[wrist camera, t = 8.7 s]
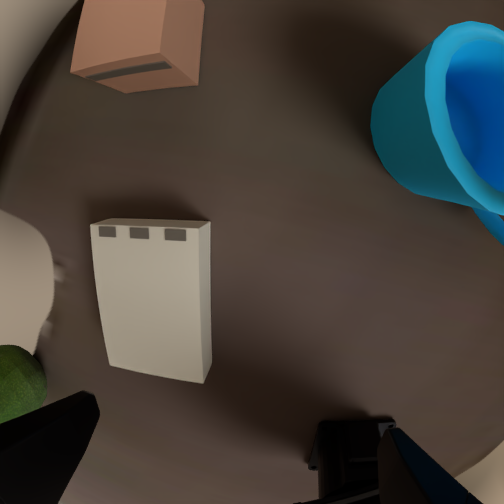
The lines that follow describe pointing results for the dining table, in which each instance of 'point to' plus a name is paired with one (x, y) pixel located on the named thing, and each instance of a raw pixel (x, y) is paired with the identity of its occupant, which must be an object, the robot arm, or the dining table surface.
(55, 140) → the dining table surface
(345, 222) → the dining table surface
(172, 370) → the slab
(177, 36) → the tan cube
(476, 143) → the mug
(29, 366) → the avocado
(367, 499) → the robot arm
